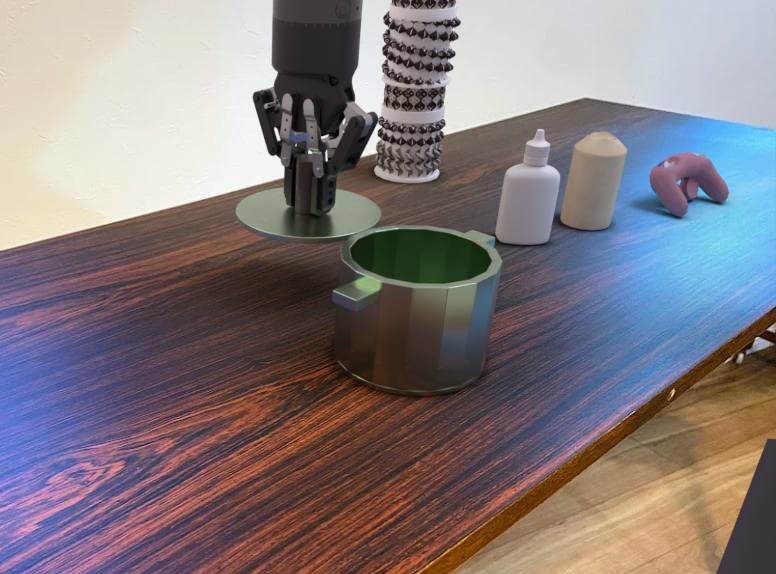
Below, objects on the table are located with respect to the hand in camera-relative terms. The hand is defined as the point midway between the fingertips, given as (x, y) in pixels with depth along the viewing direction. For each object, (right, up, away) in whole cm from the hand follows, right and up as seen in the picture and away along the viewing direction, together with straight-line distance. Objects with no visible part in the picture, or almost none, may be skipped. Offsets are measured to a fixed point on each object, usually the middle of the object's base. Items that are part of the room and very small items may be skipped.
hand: (308, 207), depth 85 cm
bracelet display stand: (+16, +12, +34) cm, 39 cm away
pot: (+8, -15, -8) cm, 18 cm away
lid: (0, -1, 0) cm, 1 cm away
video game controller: (+47, +5, +24) cm, 53 cm away
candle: (+33, +2, +19) cm, 38 cm away
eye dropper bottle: (+25, -1, +14) cm, 28 cm away
